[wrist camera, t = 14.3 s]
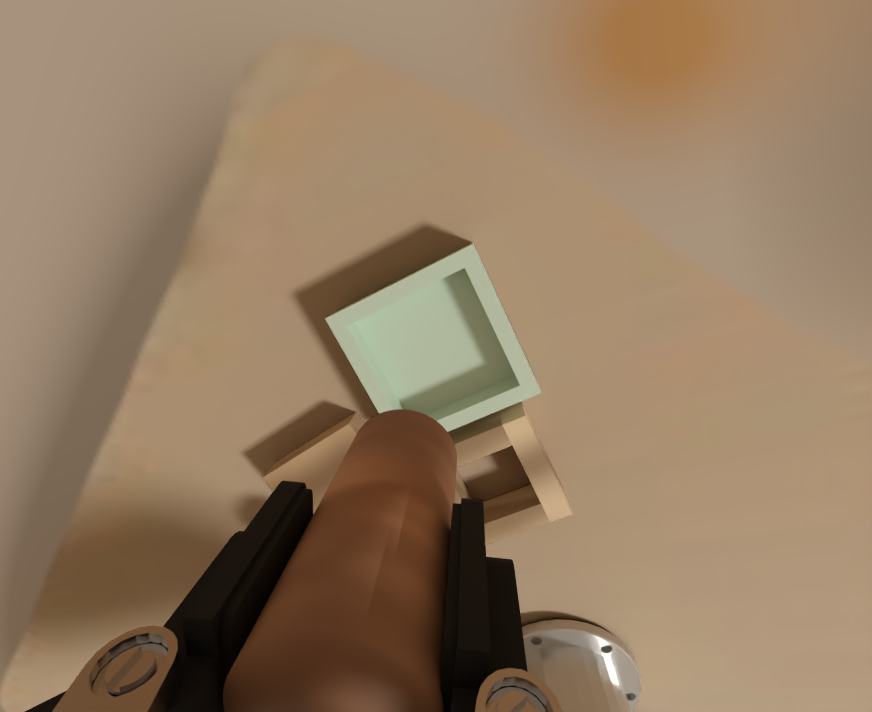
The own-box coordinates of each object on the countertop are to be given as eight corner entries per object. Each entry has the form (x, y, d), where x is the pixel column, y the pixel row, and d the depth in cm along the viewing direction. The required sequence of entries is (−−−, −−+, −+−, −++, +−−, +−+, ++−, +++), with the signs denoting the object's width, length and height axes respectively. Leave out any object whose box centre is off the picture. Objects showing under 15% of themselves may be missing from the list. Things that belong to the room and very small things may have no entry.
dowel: (460, 414, 14) (450, 648, 6) (453, 507, 15) (436, 805, 7) (352, 404, 14) (212, 620, 6) (351, 497, 15) (232, 776, 7)
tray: (535, 379, 29) (541, 392, 26) (406, 434, 31) (400, 451, 28) (472, 242, 27) (473, 243, 24) (337, 310, 28) (325, 318, 26)
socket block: (564, 492, 31) (572, 514, 29) (465, 527, 33) (465, 551, 30) (520, 400, 29) (525, 415, 27) (418, 442, 31) (414, 461, 28)
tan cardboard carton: (405, 471, 32) (400, 489, 30) (324, 517, 34) (313, 538, 32) (357, 409, 31) (348, 423, 29) (276, 460, 33) (262, 478, 30)
